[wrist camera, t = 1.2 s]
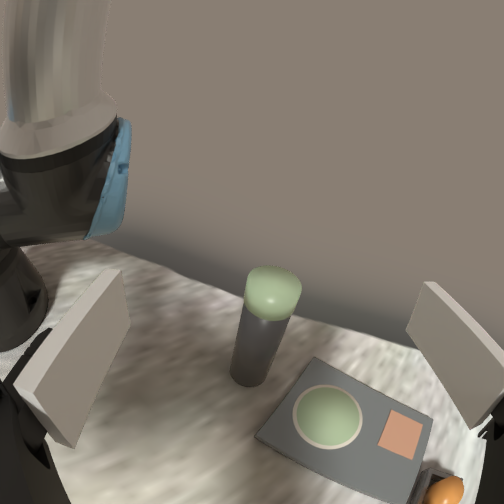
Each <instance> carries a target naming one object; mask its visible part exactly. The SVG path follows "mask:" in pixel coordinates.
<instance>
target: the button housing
mask: <svg viewBox="0 0 504 504" xmlns="http://www.w3.org/2000/svg"><path fill="white" fill-rule="evenodd" d="M450 476H453V475H450V474H447V473H444V472H441V471H438V470H435V469H432V468H428V469H426V470H424V471H422V472H421V475H420V478H419V481H418V483H417V486H416V489H415V491H414V494H413V496H412V499H411V501H410V503H409V504H422V501H423V499H424V496H425V493H426V491H427V488H428V485H429V482H430V479H431V480H434V481H437V482H439V481H441V480H443V479H446V478H448V477H450ZM460 479H461V480H462V481H463V479H462V478H460Z"/></svg>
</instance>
